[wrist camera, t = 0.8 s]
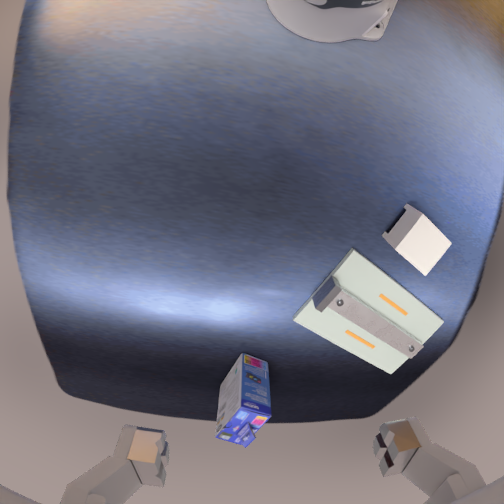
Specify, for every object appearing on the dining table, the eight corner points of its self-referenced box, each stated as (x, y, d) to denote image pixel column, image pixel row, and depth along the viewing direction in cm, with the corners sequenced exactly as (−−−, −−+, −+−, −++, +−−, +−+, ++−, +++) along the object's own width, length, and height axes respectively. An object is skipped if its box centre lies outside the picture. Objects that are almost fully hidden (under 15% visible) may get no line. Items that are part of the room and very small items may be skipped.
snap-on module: (406, 203, 40) (423, 213, 36) (435, 231, 42) (452, 243, 37) (381, 235, 42) (394, 249, 38) (411, 260, 44) (425, 276, 39)
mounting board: (352, 247, 43) (354, 250, 42) (441, 318, 48) (444, 322, 47) (292, 316, 48) (293, 320, 47) (389, 370, 53) (391, 374, 52)
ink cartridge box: (246, 394, 55) (243, 457, 42) (219, 385, 55) (210, 449, 41) (271, 362, 52) (273, 429, 39) (241, 351, 51) (236, 419, 38)
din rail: (331, 275, 44) (335, 285, 41) (423, 338, 48) (429, 349, 46) (312, 297, 45) (315, 308, 43) (406, 355, 50) (411, 366, 47)
